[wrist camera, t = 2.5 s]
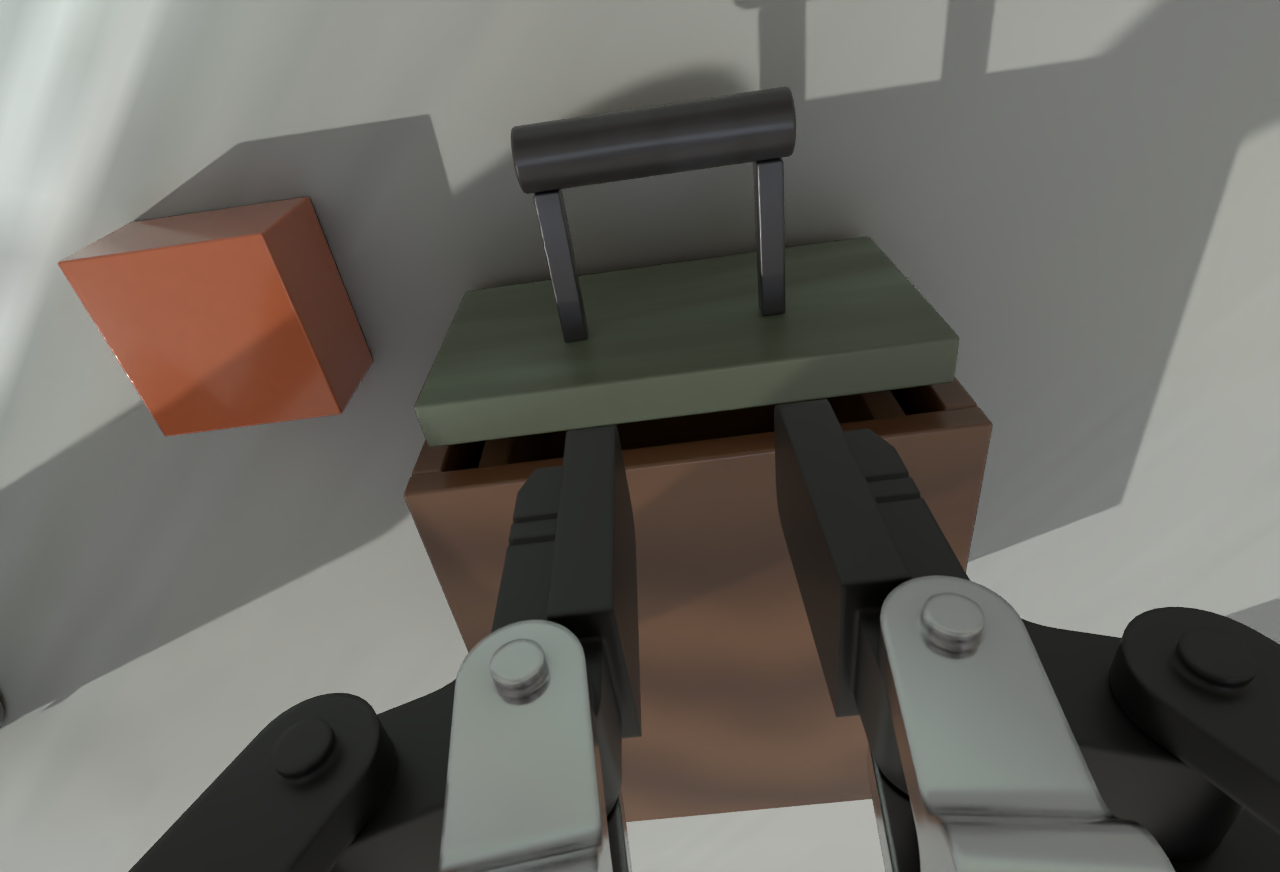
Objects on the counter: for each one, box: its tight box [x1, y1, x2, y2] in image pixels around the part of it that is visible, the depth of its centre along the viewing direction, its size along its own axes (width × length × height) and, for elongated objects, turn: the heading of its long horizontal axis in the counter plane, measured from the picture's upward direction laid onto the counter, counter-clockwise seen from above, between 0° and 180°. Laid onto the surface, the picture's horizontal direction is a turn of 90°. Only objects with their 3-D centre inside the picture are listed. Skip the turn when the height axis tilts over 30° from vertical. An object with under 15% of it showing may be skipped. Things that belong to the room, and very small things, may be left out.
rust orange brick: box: [58, 197, 373, 436], centre depth 21 cm, size 6×6×3 cm
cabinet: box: [404, 376, 992, 822], centre depth 24 cm, size 16×14×9 cm
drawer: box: [414, 87, 959, 468], centre depth 21 cm, size 20×12×7 cm, turn 8°
